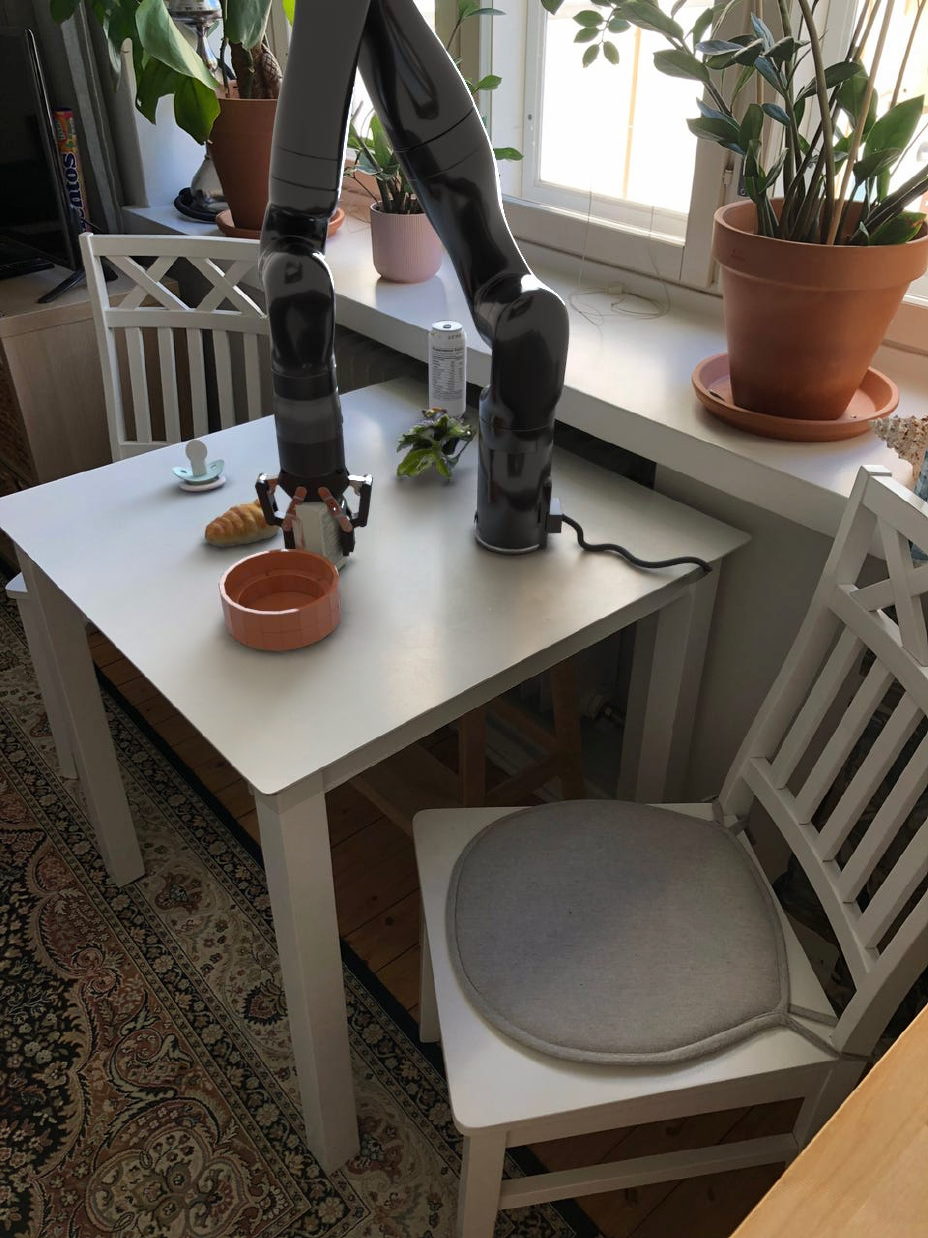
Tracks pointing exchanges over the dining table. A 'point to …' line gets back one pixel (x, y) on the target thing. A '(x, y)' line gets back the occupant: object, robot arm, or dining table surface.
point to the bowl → (281, 599)
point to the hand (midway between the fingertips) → (321, 552)
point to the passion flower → (434, 443)
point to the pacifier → (199, 469)
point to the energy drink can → (447, 367)
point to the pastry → (240, 526)
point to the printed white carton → (318, 531)
